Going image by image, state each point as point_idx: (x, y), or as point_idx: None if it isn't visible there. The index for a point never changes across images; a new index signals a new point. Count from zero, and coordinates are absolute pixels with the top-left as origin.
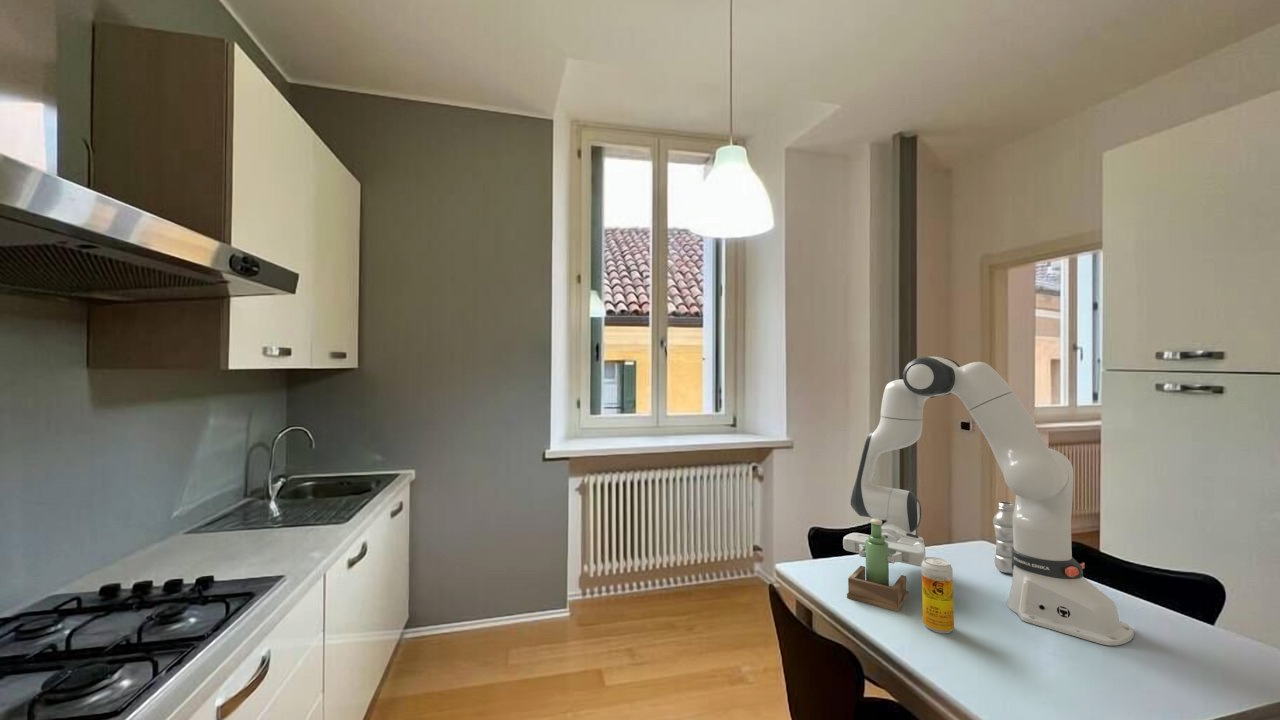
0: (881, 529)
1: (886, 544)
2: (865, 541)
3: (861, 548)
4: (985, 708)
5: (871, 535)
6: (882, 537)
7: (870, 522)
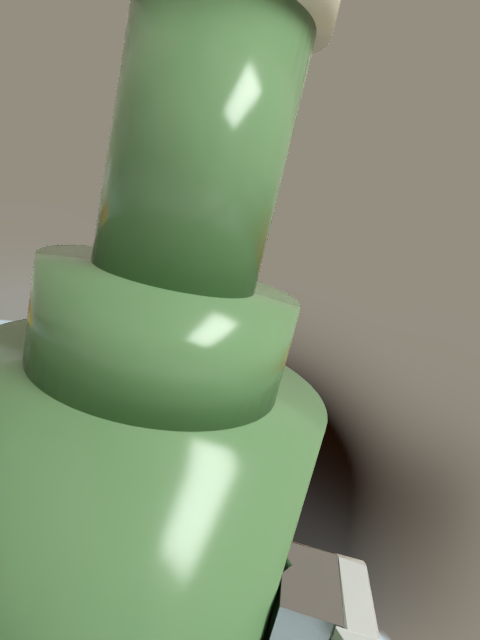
0: (117, 107)
1: (17, 330)
2: (313, 390)
3: (368, 616)
4: (2, 320)
5: (259, 300)
6: (77, 256)
7: (323, 41)
